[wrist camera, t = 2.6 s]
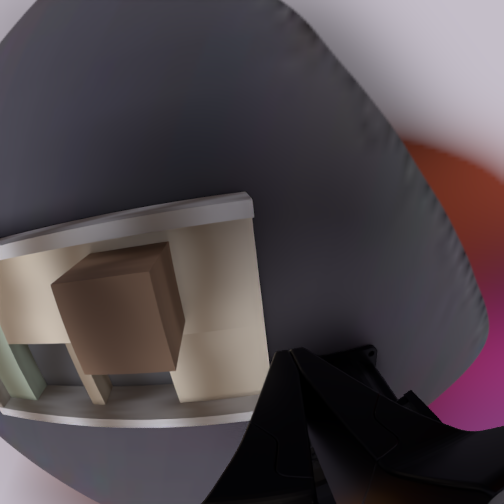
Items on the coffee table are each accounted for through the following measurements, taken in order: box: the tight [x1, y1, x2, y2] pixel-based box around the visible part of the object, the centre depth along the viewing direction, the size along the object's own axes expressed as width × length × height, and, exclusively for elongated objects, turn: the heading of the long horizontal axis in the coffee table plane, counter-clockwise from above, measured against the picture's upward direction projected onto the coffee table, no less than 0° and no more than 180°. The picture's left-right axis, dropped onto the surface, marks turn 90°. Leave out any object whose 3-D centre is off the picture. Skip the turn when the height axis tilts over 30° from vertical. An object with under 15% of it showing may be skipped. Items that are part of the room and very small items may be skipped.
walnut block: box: [51, 241, 185, 375], centre depth 14 cm, size 4×4×4 cm
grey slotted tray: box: [0, 191, 270, 428], centre depth 17 cm, size 22×13×4 cm, turn 96°
